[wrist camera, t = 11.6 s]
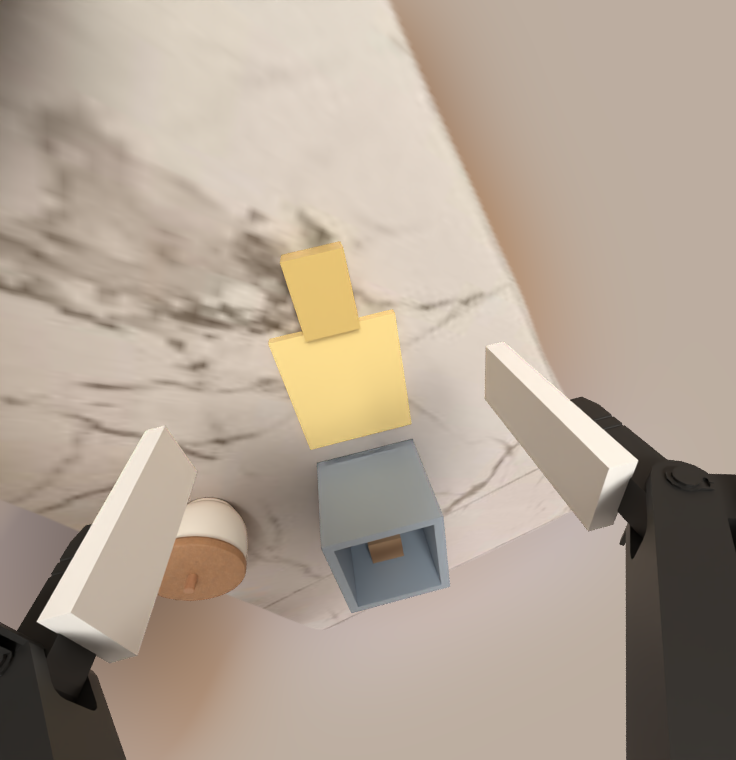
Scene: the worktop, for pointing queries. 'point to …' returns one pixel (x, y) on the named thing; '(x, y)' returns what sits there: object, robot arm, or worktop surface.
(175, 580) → the lidded jar
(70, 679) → the robot arm
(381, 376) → the lid
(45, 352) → the worktop surface
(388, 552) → the walnut part
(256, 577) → the worktop surface
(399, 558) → the tub
